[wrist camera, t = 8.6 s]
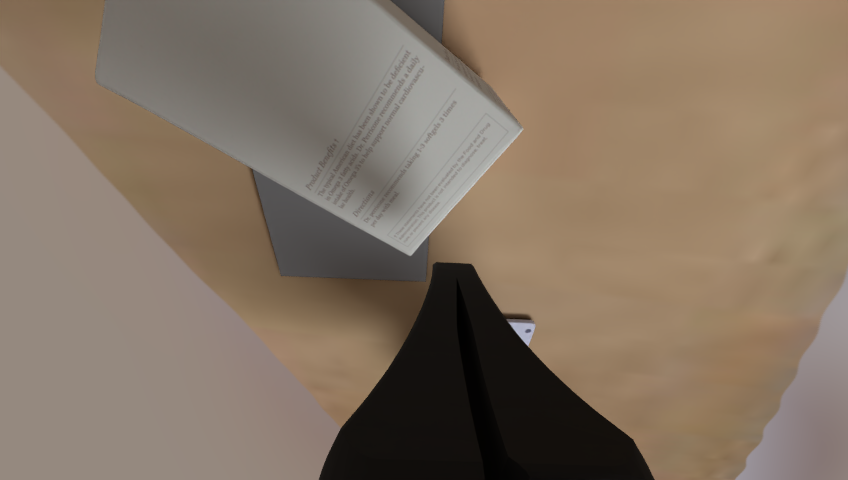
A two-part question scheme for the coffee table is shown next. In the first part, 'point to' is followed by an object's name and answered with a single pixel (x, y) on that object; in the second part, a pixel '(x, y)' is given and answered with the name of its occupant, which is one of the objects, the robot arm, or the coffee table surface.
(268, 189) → the mat
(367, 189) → the supplement box
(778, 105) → the coffee table surface
